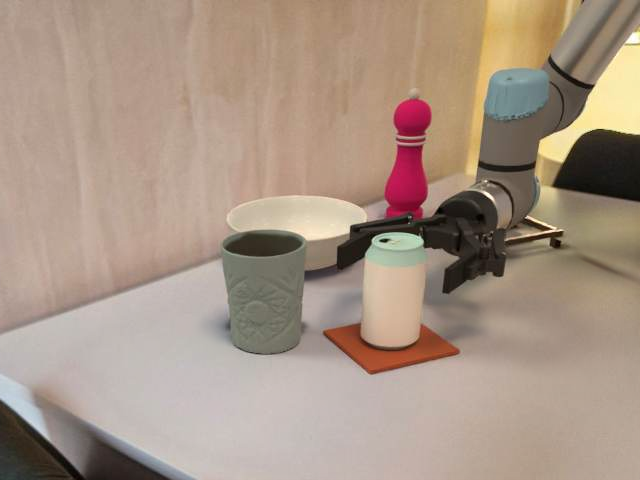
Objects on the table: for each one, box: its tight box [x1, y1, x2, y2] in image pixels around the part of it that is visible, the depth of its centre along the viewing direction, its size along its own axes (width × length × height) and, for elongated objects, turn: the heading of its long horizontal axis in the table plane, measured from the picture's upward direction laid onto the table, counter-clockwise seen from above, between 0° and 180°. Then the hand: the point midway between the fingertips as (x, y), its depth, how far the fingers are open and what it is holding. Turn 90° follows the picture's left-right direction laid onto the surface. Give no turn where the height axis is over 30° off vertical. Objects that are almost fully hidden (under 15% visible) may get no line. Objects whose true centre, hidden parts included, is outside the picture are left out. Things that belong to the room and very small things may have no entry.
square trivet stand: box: [505, 215, 564, 249], centre depth 120 cm, size 12×12×2 cm
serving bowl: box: [225, 194, 369, 272], centre depth 114 cm, size 21×21×7 cm
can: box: [360, 232, 429, 349], centre depth 89 cm, size 7×7×12 cm
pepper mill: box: [383, 87, 433, 219], centre depth 125 cm, size 7×7×20 cm
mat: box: [322, 322, 461, 375], centre depth 93 cm, size 12×12×1 cm
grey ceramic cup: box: [219, 229, 307, 355], centre depth 91 cm, size 10×10×12 cm
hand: (390, 269), depth 86 cm, fingers open, 13 cm apart
